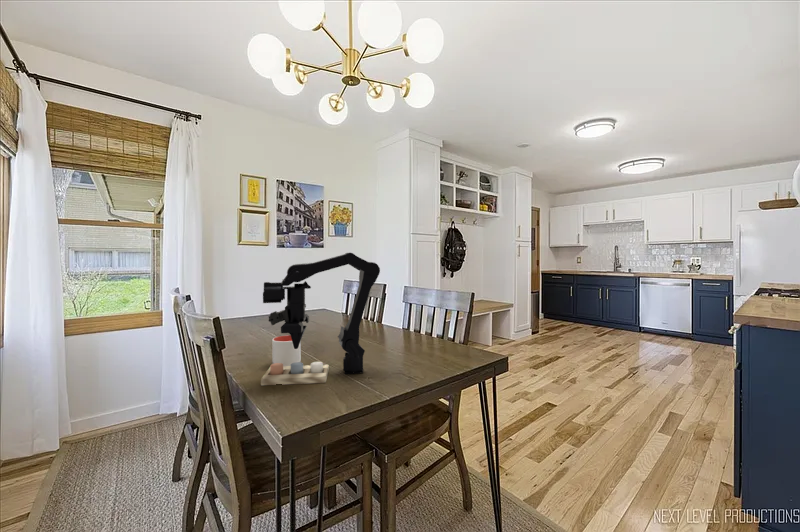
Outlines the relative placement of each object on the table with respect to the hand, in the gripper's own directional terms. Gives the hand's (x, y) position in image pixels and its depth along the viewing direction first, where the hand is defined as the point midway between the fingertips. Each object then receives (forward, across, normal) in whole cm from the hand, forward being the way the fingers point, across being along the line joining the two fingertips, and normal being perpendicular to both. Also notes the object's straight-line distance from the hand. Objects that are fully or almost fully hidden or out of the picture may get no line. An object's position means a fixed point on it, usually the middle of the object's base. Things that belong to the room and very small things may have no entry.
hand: (296, 348), depth 115 cm
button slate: (+9, 0, 0) cm, 9 cm away
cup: (+10, -14, -6) cm, 18 cm away
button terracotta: (+9, 0, -6) cm, 11 cm away
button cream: (+9, 0, +7) cm, 12 cm away
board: (+10, 0, 0) cm, 10 cm away
